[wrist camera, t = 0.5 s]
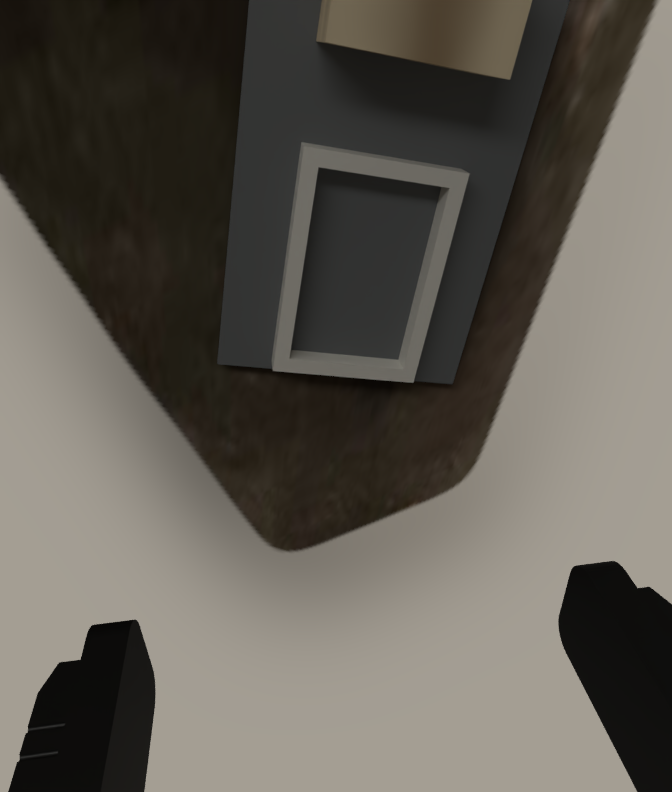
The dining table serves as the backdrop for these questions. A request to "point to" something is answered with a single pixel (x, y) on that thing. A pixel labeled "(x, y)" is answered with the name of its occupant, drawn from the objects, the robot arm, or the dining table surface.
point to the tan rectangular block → (431, 31)
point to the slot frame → (429, 277)
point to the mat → (368, 187)
